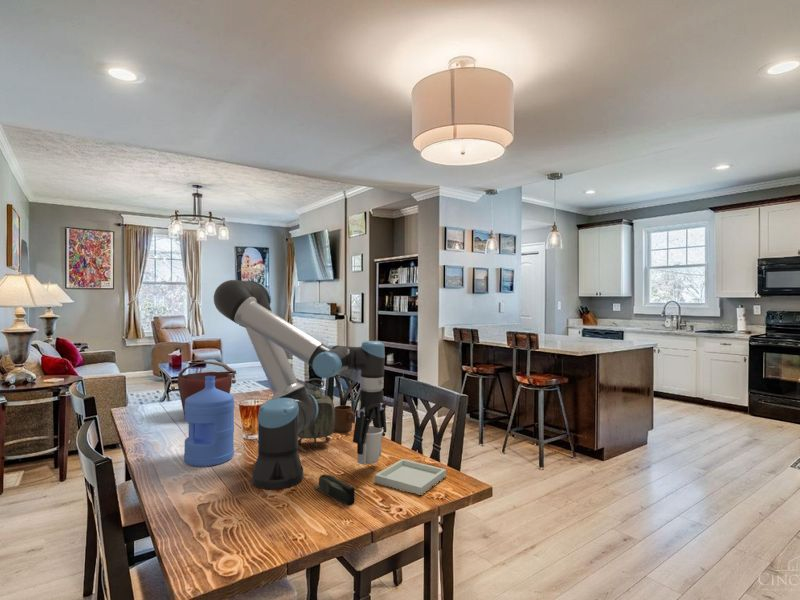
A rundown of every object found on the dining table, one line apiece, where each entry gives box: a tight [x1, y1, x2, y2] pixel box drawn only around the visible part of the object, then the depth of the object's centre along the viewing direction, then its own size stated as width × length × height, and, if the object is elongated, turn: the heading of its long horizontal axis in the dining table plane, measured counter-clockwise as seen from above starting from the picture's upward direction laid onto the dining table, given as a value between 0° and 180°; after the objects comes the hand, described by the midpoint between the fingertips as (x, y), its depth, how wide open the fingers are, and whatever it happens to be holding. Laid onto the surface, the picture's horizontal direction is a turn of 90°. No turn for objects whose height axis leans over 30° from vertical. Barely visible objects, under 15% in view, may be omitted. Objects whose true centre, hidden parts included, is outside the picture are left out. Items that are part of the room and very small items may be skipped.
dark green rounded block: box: [314, 474, 356, 506], centre depth 125 cm, size 5×3×15 cm
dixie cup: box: [365, 425, 383, 465], centre depth 145 cm, size 8×8×10 cm
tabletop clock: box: [298, 377, 335, 448], centre depth 167 cm, size 14×9×25 cm, turn 108°
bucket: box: [177, 361, 236, 417], centre depth 204 cm, size 24×22×25 cm
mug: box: [334, 405, 356, 433], centre depth 185 cm, size 12×8×9 cm, turn 40°
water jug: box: [183, 376, 235, 467], centre depth 152 cm, size 16×16×28 cm
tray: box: [374, 458, 447, 496], centre depth 137 cm, size 16×16×2 cm
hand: (369, 459), depth 145 cm, fingers closed on dixie cup, 8 cm apart
